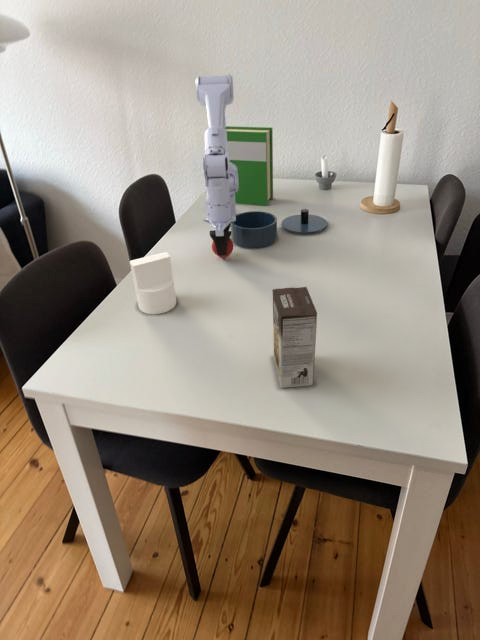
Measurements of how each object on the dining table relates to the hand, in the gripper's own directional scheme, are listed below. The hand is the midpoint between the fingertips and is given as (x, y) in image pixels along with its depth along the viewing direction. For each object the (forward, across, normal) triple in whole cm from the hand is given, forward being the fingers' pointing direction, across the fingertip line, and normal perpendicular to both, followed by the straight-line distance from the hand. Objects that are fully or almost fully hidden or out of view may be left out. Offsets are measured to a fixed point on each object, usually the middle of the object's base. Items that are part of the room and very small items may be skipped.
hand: (222, 249), depth 130 cm
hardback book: (+3, +45, -7) cm, 46 cm away
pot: (+3, +12, -9) cm, 15 cm away
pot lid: (+2, +20, -25) cm, 32 cm away
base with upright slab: (+3, -23, +15) cm, 27 cm away
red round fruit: (+3, 0, 0) cm, 3 cm away
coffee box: (+3, -49, -15) cm, 51 cm away
